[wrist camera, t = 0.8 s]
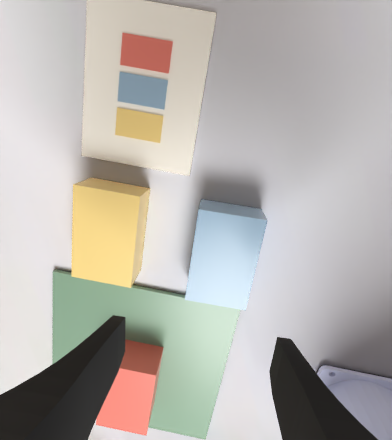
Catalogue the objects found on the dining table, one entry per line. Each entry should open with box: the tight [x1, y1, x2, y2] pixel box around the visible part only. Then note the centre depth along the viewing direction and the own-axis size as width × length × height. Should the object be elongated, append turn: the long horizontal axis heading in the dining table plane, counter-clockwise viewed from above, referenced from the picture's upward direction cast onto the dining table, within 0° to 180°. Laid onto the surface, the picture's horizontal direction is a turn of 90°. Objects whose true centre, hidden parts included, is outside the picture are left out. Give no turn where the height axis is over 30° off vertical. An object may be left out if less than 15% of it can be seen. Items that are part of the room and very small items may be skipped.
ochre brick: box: [71, 178, 150, 288], centre depth 21 cm, size 4×7×3 cm, turn 171°
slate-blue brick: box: [185, 199, 267, 310], centre depth 20 cm, size 4×7×3 cm, turn 172°
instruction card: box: [81, 0, 217, 176], centre depth 18 cm, size 8×10×1 cm
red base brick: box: [96, 339, 164, 435], centre depth 24 cm, size 4×7×3 cm, turn 170°
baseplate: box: [53, 269, 240, 439], centre depth 26 cm, size 16×16×1 cm
